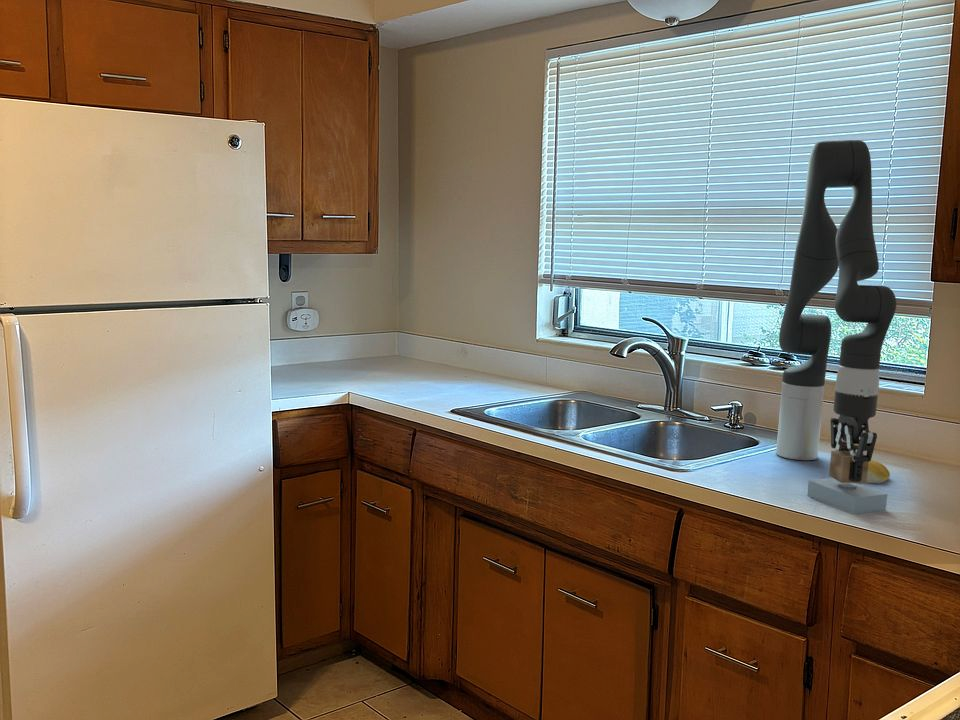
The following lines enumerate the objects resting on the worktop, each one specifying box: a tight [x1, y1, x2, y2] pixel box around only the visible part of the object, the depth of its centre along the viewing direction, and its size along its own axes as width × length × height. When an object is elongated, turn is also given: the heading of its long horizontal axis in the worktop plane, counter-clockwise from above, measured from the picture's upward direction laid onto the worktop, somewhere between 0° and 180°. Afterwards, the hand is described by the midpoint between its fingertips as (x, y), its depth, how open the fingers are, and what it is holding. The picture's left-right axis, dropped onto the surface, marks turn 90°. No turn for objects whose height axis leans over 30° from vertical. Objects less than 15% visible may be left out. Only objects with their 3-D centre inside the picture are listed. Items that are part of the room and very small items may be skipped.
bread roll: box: [865, 460, 891, 484], centre depth 191 cm, size 8×9×4 cm
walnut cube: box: [828, 450, 868, 484], centre depth 172 cm, size 5×5×5 cm
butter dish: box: [806, 477, 888, 515], centre depth 172 cm, size 12×8×4 cm, turn 23°
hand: (848, 476), depth 172 cm, fingers closed on walnut cube, 4 cm apart
